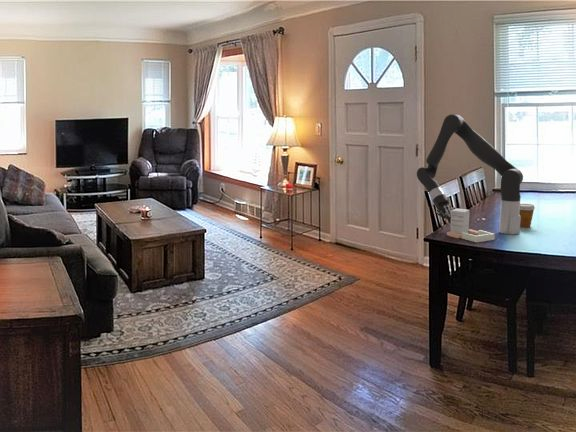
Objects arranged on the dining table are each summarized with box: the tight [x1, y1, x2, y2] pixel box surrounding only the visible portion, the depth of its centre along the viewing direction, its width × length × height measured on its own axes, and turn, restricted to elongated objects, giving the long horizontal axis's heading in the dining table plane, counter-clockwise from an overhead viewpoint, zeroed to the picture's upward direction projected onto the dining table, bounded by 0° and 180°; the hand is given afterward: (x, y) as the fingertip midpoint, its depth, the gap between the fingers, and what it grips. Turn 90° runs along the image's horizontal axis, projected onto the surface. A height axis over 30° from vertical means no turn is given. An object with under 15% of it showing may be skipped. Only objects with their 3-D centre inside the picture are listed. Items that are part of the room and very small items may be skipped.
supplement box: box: [449, 207, 471, 235], centre depth 286 cm, size 7×7×13 cm
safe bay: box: [461, 229, 496, 243], centre depth 275 cm, size 10×12×3 cm
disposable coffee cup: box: [519, 203, 536, 229], centre depth 301 cm, size 10×10×12 cm
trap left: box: [446, 231, 463, 239], centre depth 281 cm, size 8×3×2 cm, turn 25°
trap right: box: [468, 228, 478, 236], centre depth 286 cm, size 8×3×2 cm, turn 26°
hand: (453, 224), depth 291 cm, fingers closed
